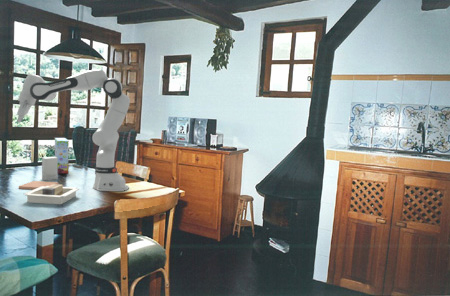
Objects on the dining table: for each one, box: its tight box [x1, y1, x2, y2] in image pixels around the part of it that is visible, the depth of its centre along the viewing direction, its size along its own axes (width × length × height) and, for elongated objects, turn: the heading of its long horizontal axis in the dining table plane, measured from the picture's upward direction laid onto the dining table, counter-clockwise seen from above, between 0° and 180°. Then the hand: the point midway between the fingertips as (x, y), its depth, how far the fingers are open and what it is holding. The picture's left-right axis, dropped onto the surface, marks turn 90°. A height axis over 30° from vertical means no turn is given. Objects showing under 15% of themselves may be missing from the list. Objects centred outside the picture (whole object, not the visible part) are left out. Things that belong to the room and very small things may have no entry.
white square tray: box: [23, 186, 80, 205], centre depth 176 cm, size 22×22×4 cm
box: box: [42, 184, 64, 196], centre depth 176 cm, size 5×12×7 cm, turn 2°
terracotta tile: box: [18, 180, 60, 191], centre depth 200 cm, size 16×16×2 cm
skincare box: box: [41, 156, 58, 182], centre depth 222 cm, size 8×7×16 cm
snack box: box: [54, 137, 70, 175], centre depth 252 cm, size 22×9×26 cm, turn 33°
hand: (19, 121), depth 193 cm, fingers open, 8 cm apart
